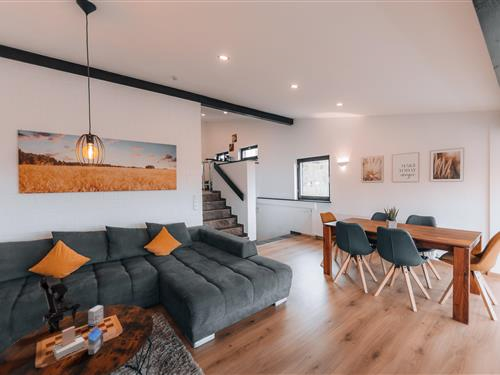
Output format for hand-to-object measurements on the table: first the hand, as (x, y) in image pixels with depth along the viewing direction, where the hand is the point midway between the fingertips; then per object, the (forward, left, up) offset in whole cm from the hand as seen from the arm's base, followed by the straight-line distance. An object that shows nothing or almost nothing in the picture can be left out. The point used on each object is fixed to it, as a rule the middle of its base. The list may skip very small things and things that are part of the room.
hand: (65, 324), depth 148 cm
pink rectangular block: (+6, -1, -13) cm, 15 cm away
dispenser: (+6, -1, -13) cm, 15 cm away
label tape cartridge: (+21, +7, -13) cm, 26 cm away
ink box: (-6, +21, -13) cm, 26 cm away
